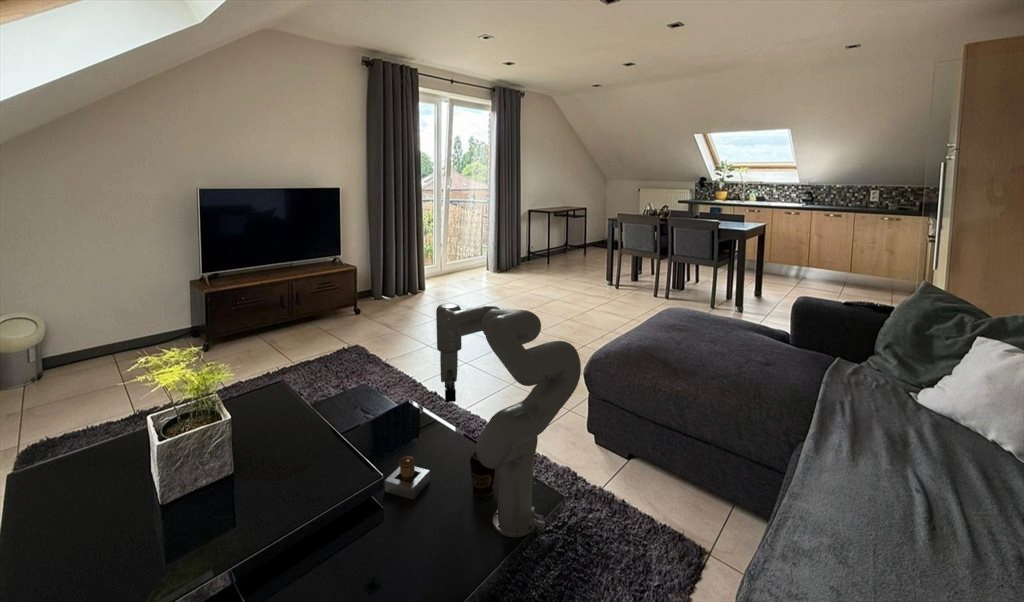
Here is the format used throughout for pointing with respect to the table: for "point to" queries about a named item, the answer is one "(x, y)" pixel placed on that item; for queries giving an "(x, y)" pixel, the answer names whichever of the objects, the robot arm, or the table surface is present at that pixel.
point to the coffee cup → (481, 477)
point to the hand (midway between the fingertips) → (450, 394)
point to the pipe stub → (407, 468)
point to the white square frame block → (405, 488)
